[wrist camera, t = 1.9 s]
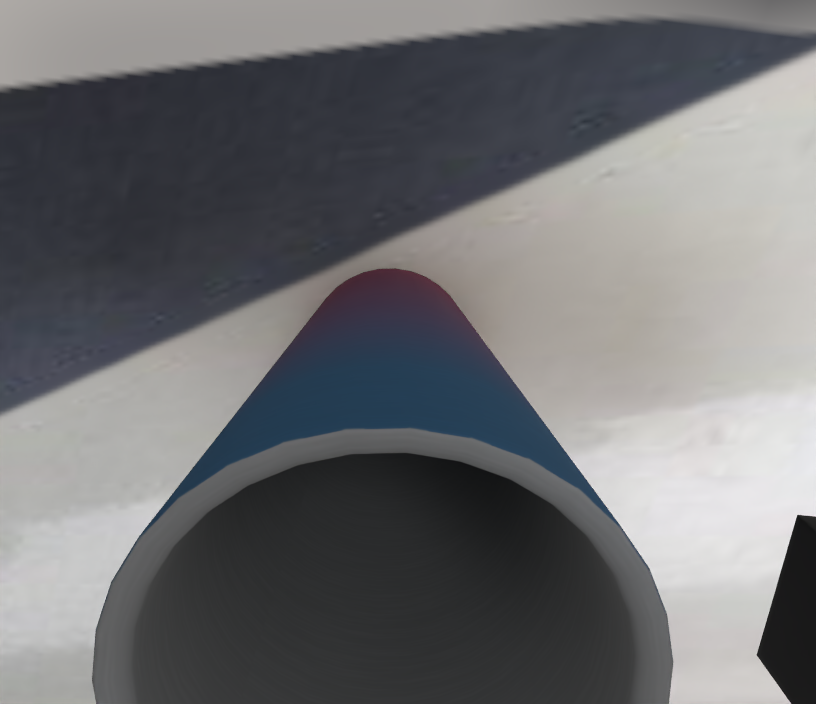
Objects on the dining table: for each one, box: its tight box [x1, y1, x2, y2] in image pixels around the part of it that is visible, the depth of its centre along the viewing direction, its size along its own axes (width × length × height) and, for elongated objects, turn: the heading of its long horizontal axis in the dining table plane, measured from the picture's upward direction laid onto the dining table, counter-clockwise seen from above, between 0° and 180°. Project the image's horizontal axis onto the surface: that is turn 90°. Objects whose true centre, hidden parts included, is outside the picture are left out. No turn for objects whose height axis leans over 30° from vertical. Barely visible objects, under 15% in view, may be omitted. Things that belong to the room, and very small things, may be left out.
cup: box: [92, 269, 673, 704], centre depth 16 cm, size 7×7×15 cm
